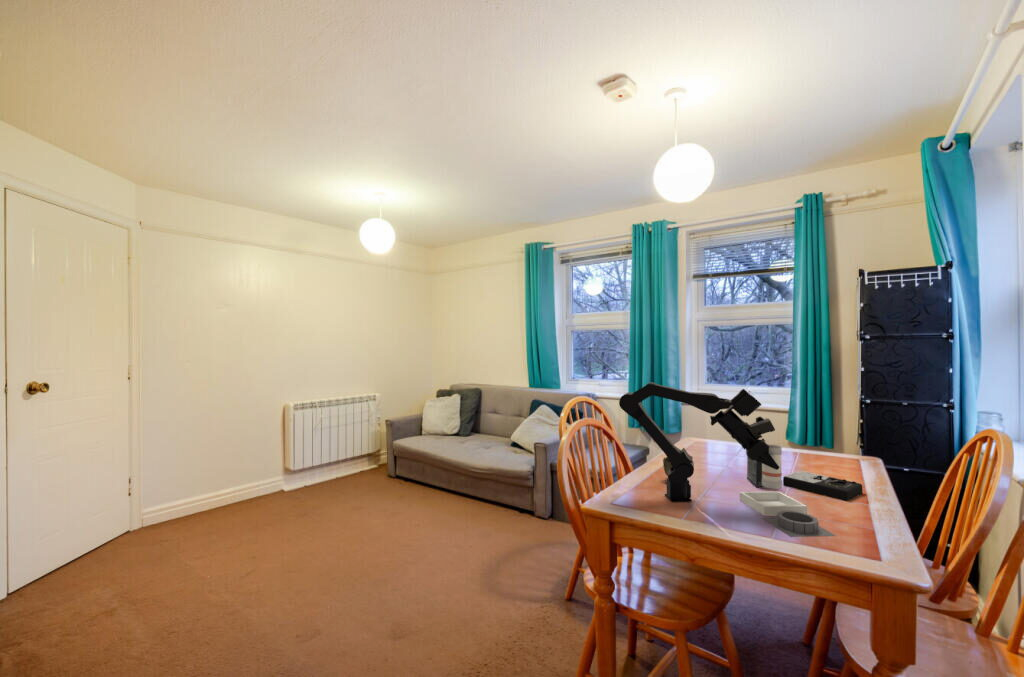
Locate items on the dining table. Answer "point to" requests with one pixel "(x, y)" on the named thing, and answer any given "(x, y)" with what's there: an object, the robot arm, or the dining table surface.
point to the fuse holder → (798, 524)
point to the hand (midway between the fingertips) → (776, 466)
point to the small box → (754, 472)
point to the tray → (771, 502)
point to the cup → (666, 465)
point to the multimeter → (823, 485)
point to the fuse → (772, 469)
